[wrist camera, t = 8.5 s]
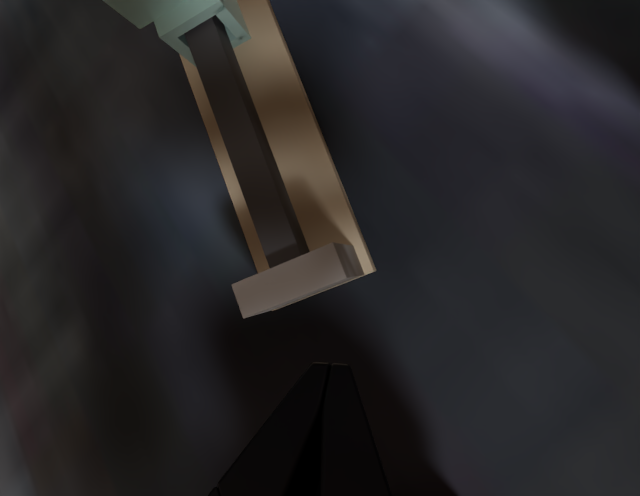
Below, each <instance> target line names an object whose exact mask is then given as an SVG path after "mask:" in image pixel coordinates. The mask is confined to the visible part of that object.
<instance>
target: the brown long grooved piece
mask: <svg viewBox="0 0 640 496" xmlns="http://www.w3.org/2000/svg"><path fill="white" fill-rule="evenodd" d="M237 2H238V5H239V8H240V10H241V13H242V15H243V18H244V20H245V23H246V26H247V28H248V31H249V33H250V36H251V39H249V40H247V41H246V42H244V43H242V44H240V45H239V46H237V47H235V48H233V47H232V45H231V42H230V39H229V37H228V34H227V32H226V29H225V26H224V24H223V23H222V22H221V20H220V19H219V18H218V17H217V16H216V15H214V16H213V17H211V18H209V19H208V20H206V21H204V22H203V23H201V24H199V25H198V26H196V27H194V28H193V29H191V30H189V31H188V32H186V33H184V34H185V37H186V40H187V43H188V45H189V48H190V51H191V54H192V56H193V59H194V62H195V65H196V67H195V66H194V65H193V64H192V63H190V62H189V61H188V60H187V59H185V58H184V57H183V56H182V55H180V54H179V55H180V58H181V60H182V63H183V66H184V69H185V72H186V74H187V77H188V80H189V83H190V85H191V88H192V91H193V94H194V97H195V99H196V102H197V105H198V108H199V110H200V113H201V116H202V119H203V122H204V124H205V127H206V130H207V133H208V135H209V138H210V141H211V144H212V147H213V149H214V152H215V155H216V158H217V160H218V163H219V166H220V169H221V172H222V174H223V177H224V180H225V183H226V185H227V188H228V191H229V194H230V197H231V199H232V202H233V205H234V208H235V210H236V213H237V216H238V219H239V222H240V224H241V227H242V230H243V233H244V235H245V238H246V241H247V244H248V247H249V249H250V252H251V255H252V258H253V260H254V263H255V266H256V269H257V272H258V274H256V275H253V276H251V277H249V278H246V279H244V280H241V281H239V282H237V283H234V284H232V288H233V291H234V293H235V296H236V299H237V302H238V305H239V308H240V311H241V313H242V316H243V319H244V318H247V317H251V316H254V315H257V314H261V313H264V312H268V311H271V310H272V311H273V310H277V309H280V308H282V307H285V306H287V305H290V304H292V303H295V302H298V301H300V300H303V299H305V298H308V297H310V296H313V295H316V294H318V293H321V292H323V291H326V290H328V289H331V288H333V287H336V286H339V285H341V284H344V283H346V282H349V281H351V280H354V279H356V278H359V277H362V276H364V275H367V274H369V273H372V272H374V271H376V268H375V266H374V263H373V261H372V258H371V256H370V253H369V251H368V248H367V246H366V243H365V241H364V238H363V236H362V233H361V231H360V228H359V226H358V223H357V220H356V218H355V215H354V213H353V210H352V208H351V205H350V203H349V200H348V198H347V195H346V193H345V190H344V188H343V185H342V183H341V180H340V178H339V175H338V173H337V170H336V168H335V165H334V163H333V160H332V158H331V155H330V152H329V150H328V147H327V145H326V142H325V140H324V137H323V135H322V132H321V130H320V127H319V125H318V122H317V120H316V117H315V115H314V112H313V110H312V107H311V105H310V102H309V100H308V97H307V95H306V92H305V90H304V87H303V85H302V82H301V79H300V77H299V74H298V72H297V69H296V67H295V64H294V62H293V59H292V57H291V54H290V52H289V49H288V47H287V44H286V42H285V39H284V37H283V34H282V32H281V29H280V27H279V24H278V22H277V19H276V17H275V14H274V12H273V9H272V6H271V4H270V1H269V0H237Z"/></svg>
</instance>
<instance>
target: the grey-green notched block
mask: <svg viewBox="0 0 640 496" xmlns="http://www.w3.org/2000/svg"><path fill="white" fill-rule="evenodd" d="M102 1H104V2H105V3H106V4H108V5H109V6H110V7H112V8H113V9H114V10H115V11H117V12H118V13H119V14H121V15H122V16H123V17H124V18H126V19H127V20H128V21H130V22H131V23H132V24H133V25H135V26H136V27H137V28H139V29H142V28H143V27H145V26H147V25H148V24H150V23H151V22H153V21H154V24H155V27H156V30H157V33H158V35H159V38H160V39H162V40H163V41H164V42H165V43H167V44H168V45H169V46H170V47H172V48H173V49H174V50H175V51H177V52H178V53H179V54H180V55H182V56H183V57H184V58H185V59H187V60H188V61H189V62H190V63H192V64H193V65H194V66H195V67H196V65H195V62H194V59H193V56H192V54H191V51H190V48H189V45H188V43H187V40H186V37H185V34H184V33H186V32H188V31H189V30H191V29H193V28H194V27H196V26H198V25H199V24H201V23H203V22H204V21H206V20H208V19H209V18H211V17H213V16H214V15H216V16H217V17H218V18H219V19H220V20H221V22H222V23H223V24H224V26H225V29H226V32H227V34H228V37H229V39H230V42H231V45H232V47H233V48H235V47H237V46H239V45H240V44H242V43H244V42H246V41H247V40H249V39H251V36H250V33H249V31H248V28H247V26H246V23H245V20H244V18H243V15H242V13H241V10H240V8H239V5H238V2H237V0H102Z"/></svg>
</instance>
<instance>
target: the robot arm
mask: <svg viewBox="0 0 640 496" xmlns="http://www.w3.org/2000/svg"><path fill="white" fill-rule="evenodd" d="M217 486H218V488H217V487H214V488H213V490H212V491H211V492H210V494H209V495H208V496H392V494H391V491H390V488H389V485H388V482H387V479H386V476H385V473H384V470H383V467H382V463H381V460H380V457H379V454H378V451H377V448H376V445H375V442H374V439H373V436H372V432H371V429H370V426H369V423H368V420H367V417H366V414H365V411H364V408H363V405H362V401H361V398H360V395H359V392H358V389H357V386H356V383H355V380H354V377H353V374H352V370H351V367H350V366H349V365H348V364H338V363H333V364H332V365H330V364H329V363H322V362H313V363H312V364H311V365H310V366H309V367H308V368H307V370H306V371H305V372H304V373H303V375H302V376H301V377H300V379H299V380H298V381H297V382H296V384H295V385H294V386H293V387H292V389H291V390H290V391H289V393H288V394H287V395H286V396H285V398H284V399H283V400H282V402H281V403H280V404H279V405H278V407H277V408H276V409H275V411H274V412H273V413H272V414H271V416H270V417H269V418H268V420H267V421H266V422H265V423H264V425H263V426H262V427H261V428H260V430H259V431H258V432H257V434H256V435H255V436H254V437H253V439H252V440H251V441H250V443H249V444H248V445H247V446H246V448H245V449H244V450H243V452H242V453H241V454H240V455H239V457H238V458H237V459H236V461H235V462H234V463H233V464H232V466H231V467H230V468H229V469H228V471H227V472H226V473H225V475H224V476H223V477H222V478H221V480H220V481H219V482H218V484H217Z"/></svg>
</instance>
